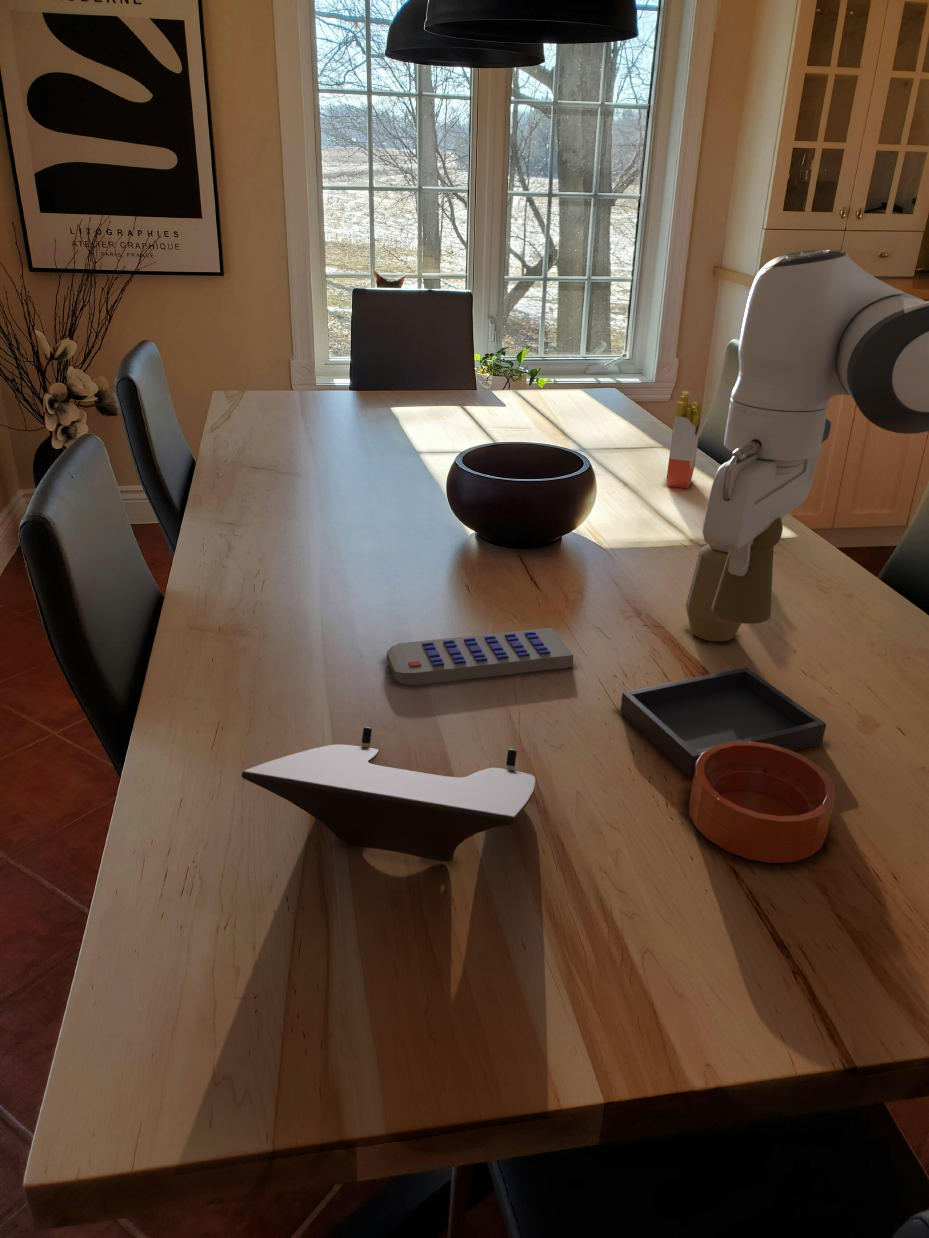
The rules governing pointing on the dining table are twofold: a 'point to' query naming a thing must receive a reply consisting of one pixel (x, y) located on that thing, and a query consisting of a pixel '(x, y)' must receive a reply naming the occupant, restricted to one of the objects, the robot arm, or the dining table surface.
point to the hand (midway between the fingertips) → (749, 564)
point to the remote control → (478, 656)
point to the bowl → (761, 801)
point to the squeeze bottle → (708, 597)
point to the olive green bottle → (750, 582)
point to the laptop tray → (394, 798)
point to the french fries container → (684, 442)
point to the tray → (719, 715)
